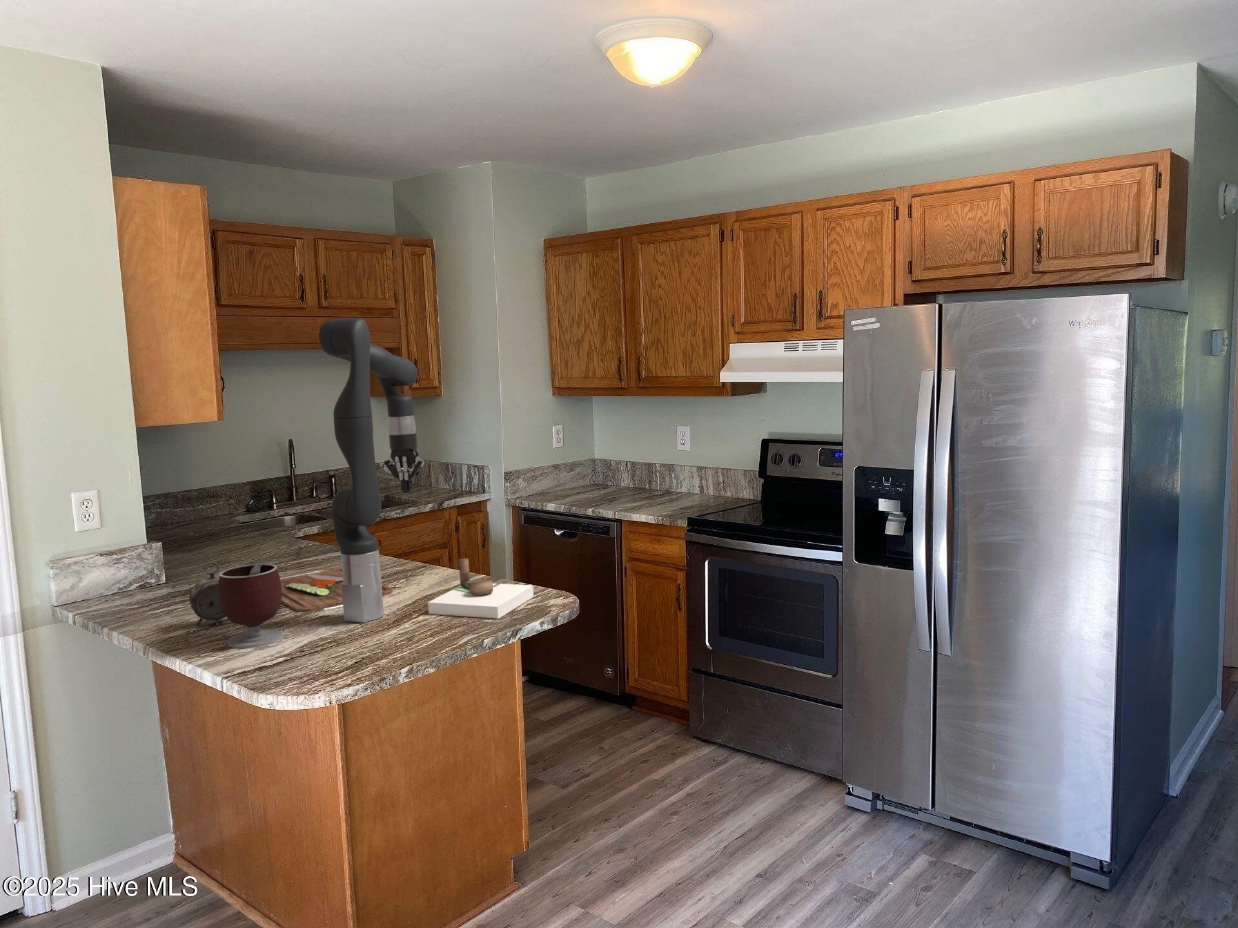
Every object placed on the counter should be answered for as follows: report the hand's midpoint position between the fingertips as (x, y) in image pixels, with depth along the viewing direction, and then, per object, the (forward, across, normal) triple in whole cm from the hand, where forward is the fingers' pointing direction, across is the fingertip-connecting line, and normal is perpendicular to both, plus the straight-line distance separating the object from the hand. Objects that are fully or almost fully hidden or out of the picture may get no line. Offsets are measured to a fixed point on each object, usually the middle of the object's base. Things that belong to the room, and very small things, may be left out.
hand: (407, 492), depth 257 cm
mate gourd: (+27, -10, -52) cm, 60 cm away
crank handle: (+23, +27, -12) cm, 38 cm away
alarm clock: (+27, -31, -43) cm, 60 cm away
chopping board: (+28, -25, -9) cm, 38 cm away
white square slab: (+27, +30, -14) cm, 43 cm away
